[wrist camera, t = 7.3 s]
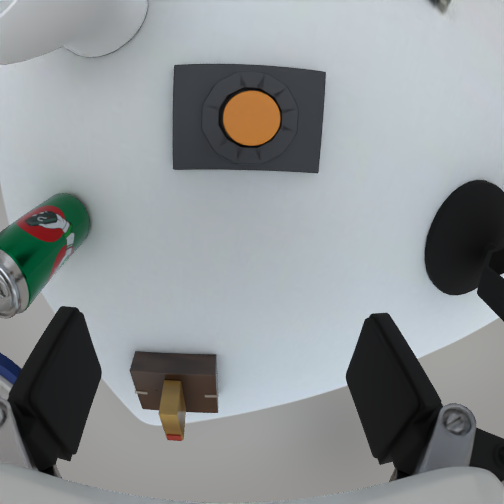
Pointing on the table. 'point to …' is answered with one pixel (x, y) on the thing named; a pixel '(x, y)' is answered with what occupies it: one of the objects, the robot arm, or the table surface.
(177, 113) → the block
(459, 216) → the microphone
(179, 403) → the lock knob
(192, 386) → the plate
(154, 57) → the table surface
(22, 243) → the soda can
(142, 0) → the cup
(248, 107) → the bell button
